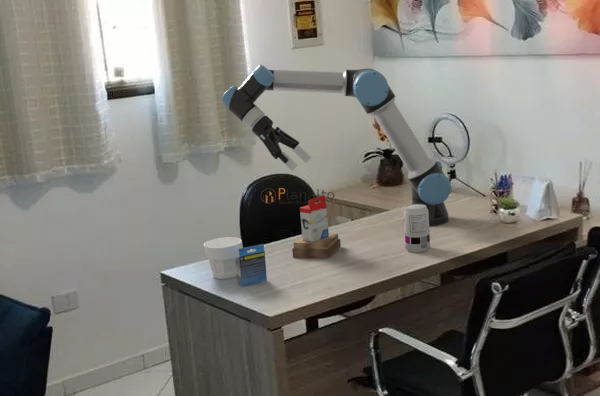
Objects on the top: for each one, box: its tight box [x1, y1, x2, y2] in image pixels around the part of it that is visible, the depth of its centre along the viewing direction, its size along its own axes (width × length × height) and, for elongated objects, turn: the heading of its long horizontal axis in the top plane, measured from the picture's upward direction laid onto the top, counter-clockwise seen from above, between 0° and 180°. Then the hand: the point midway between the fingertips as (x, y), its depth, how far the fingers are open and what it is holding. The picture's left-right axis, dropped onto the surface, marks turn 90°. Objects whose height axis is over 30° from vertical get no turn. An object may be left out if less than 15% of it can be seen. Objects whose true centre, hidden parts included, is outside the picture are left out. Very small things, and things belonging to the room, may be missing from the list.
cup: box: [203, 236, 243, 280], centre depth 261 cm, size 12×12×11 cm
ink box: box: [299, 194, 330, 242], centre depth 276 cm, size 8×5×15 cm, turn 135°
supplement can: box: [403, 203, 431, 254], centre depth 271 cm, size 8×8×15 cm
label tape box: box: [235, 243, 268, 288], centre depth 251 cm, size 9×4×12 cm, turn 118°
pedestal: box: [291, 233, 342, 259], centre depth 278 cm, size 13×13×5 cm
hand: (301, 164), depth 281 cm, fingers open, 13 cm apart
